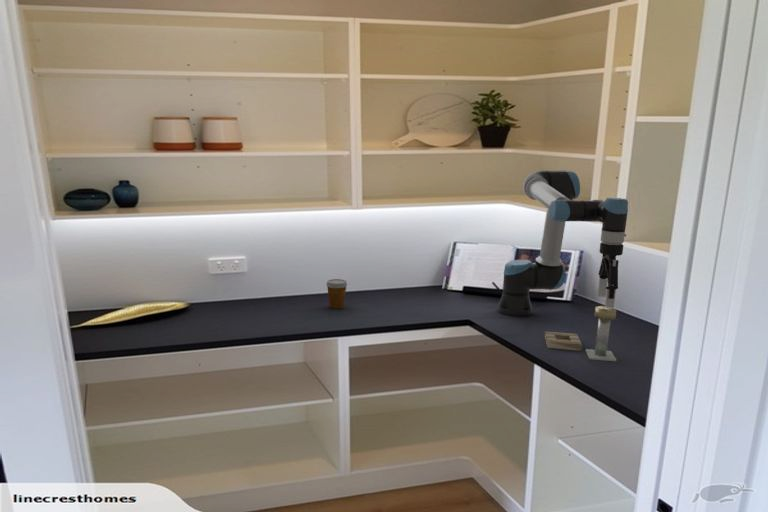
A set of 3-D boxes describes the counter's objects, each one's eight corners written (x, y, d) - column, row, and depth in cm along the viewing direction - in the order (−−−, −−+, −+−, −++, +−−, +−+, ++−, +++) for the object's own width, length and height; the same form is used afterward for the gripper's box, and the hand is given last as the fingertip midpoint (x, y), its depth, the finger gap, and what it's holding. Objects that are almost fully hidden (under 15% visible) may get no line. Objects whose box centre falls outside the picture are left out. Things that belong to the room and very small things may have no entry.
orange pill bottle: (340, 303, 263) (341, 278, 261) (350, 308, 255) (351, 282, 253) (322, 305, 258) (322, 280, 256) (332, 310, 250) (332, 284, 248)
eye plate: (544, 337, 221) (545, 331, 221) (576, 340, 219) (576, 333, 219) (547, 347, 210) (548, 341, 209) (581, 350, 208) (581, 344, 207)
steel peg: (588, 349, 206) (593, 305, 203) (608, 351, 205) (614, 307, 202) (592, 356, 200) (597, 310, 196) (612, 358, 199) (618, 312, 195)
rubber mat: (585, 350, 208) (585, 349, 208) (610, 352, 206) (611, 351, 206) (589, 359, 199) (589, 357, 199) (616, 361, 197) (616, 359, 197)
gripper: (632, 250, 182) (624, 312, 186) (615, 237, 206) (609, 293, 211) (608, 248, 183) (601, 311, 188) (594, 236, 207) (588, 291, 212)
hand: (605, 301), depth 199 cm, fingers open, 13 cm apart
